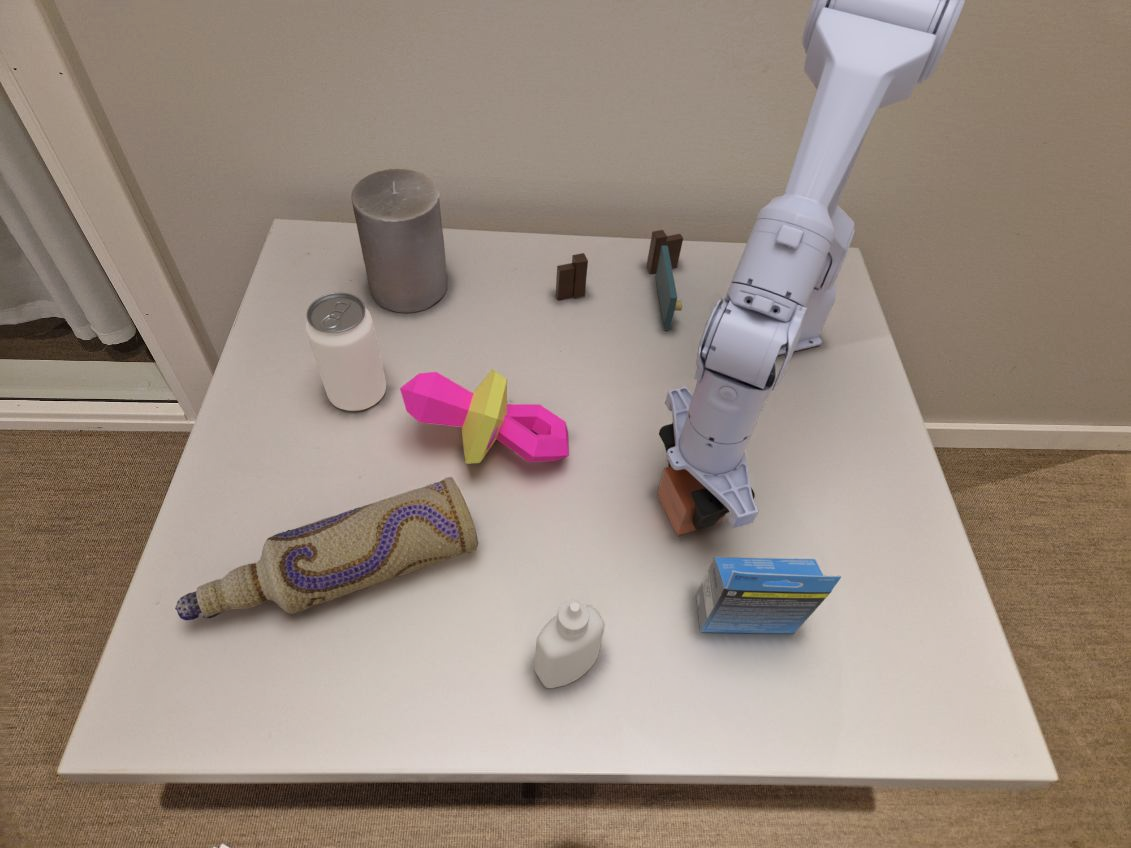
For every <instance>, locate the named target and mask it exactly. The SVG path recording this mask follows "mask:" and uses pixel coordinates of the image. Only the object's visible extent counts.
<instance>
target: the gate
mask: <svg viewBox="0 0 1131 848" xmlns="http://www.w3.org/2000/svg"><path fill="white" fill-rule="evenodd" d="M683 242H684V237H683V235H682V234H681V233H676V234H671V235H667V234H666V232H665V230H664V229H659V230H653V231H652V232H651V237H650V243H649V249H648V254H647V260H646V266H645V268H646V269H647V271H648V272H649V274H656V271H657V266H658V261H659V256H660V251H661V246H668V250H669V256H670V261H671V266H672V269H676V268H677V269H678V265H679V260H680V255H681V251H682V247H683ZM571 257H572V258H571V262H570V263H565V264H559V265H557V266H556V278H555V279H556V280H555V297H556V299H557V301H562V300H568V299H579V298H584V297H586V287H587V278H588V277H587V276H588V265H589V260H588V258H587V256H586V254H585V252H581V253H575V254H572V256H571Z"/></svg>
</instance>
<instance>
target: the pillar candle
mask: <svg viewBox="0 0 1131 848" xmlns="http://www.w3.org/2000/svg"><path fill="white" fill-rule="evenodd" d="M350 195H351V198H350V199H351V203H352V209H353V214H354V218H355V224H356V229H357V233H358V238H359V244H360V248H361V254H362V260H363V265H364V269H365V273H366V278H367V282H368V288H369V291H370V296H371V297H372V299H373V300H374V302H375V303H376V304H377V305H379V306H380V307H382V308H384V309H385V310H389V311H392V312H397V313H404V314H405V313H417V312H422V311H424V310H427V309H430V307H432V306H433V305H434V304H436V303H438V301H440V300H441V299H442V298H444V296H445V294H446V293H447V289H448V273H447V261H446V260H447V259H446V253H445V252H446V249H445V239H444V231H443V222H442V212H441V202H440V198H441V192H440V190H439V188H438V186H437V184H436V183H435V181H434V180H433V179H432V178H430V177H429V176H428V175H426V174H424V173H423V172H420V171H416V170H413V169H406V168H388V169H383V170H379V171H375V172H372V173H370V174H368V175H366V176H365V177H363V178H362V179H359V181H358V182H357V183H356V184H355V185H354V187H353V188H352V191H351V194H350Z"/></svg>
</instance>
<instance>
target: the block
mask: <svg viewBox="0 0 1131 848" xmlns="http://www.w3.org/2000/svg"><path fill="white" fill-rule="evenodd" d="M659 483H660V484H659V487H658V490H657V493H656V496H657V498H658V500H659V502H660V504H661V506H662V508H663V510H664V512H665V514H666V516H667V518H668V520H669V522H670V524H671V526H672V528H673V530H674V533H675V535H676V536H678V537H679V536H682V535H686V534H688V533H692V532H696V531H697V530H696V529H695V527H694V525H693V516H694V512H695V503H694V501H693V499H692V497H691V495H690V494H691V492H693V491H697V490H700V489H704V488H705V487H704V486H703V485H702V484H701V483H700V482H699V481H698V480H697V479H696V478H695V477H694V476H693V475H691V474H690V473H689V472H688V471H687V470H685V469H681V470H675V469H673V468H672V467H671V466H670V467H668V466H667V467H664V470H663V472H662V476H661V479H660V482H659ZM725 517H726V515H724V516H723V517H722V518H721V519H720V520H718V521H717V522H716V524H715V525H716V526H717V525H718V524H722V523H723V521H724V519H725ZM715 525H714V526H715Z"/></svg>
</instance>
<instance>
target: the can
mask: <svg viewBox="0 0 1131 848" xmlns="http://www.w3.org/2000/svg"><path fill="white" fill-rule="evenodd" d="M305 315H306V316H305V317H306V323H305V329H306V330H305V331H306V335H307V338H308V341H309V344H310V348H311V351H312V354H313V356H314V360H315V363H316V366H317V369H318V372H319V375H320V379H321V382H322V384H323V388H324V390H325V393H326V396H327V398H328V400H329V402H330V403H331V404H332V405H333V406H334V407H335V408H337V409H340V410H344V411H350V412H360V411H364V410H367V409H369V408H372V407H373V406H375V405H377V404H378V403H379V402H380V401H381V400H382V399H383V398H384V395H385V394H386V391H387V380H386V375H385V371H384V365H383V361H382V357H381V352H380V347H379V343H378V339H377V334H376V329H375V325H374V321H373V318H372V315H371V313H370V312H369V310H368V309H367V307H366V306H365V303H364V301H363V300H362V299H361V298H360V297H358V296H357V295H354V294H352V293H348V292H342V291H340V292H332V293H331V292H330V293H327V294H324V295H321V296H320V297H318V298H316V299H314V300H313V301H312V302H311V303H310V304H309V306H308V308H307V310H306V314H305Z"/></svg>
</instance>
